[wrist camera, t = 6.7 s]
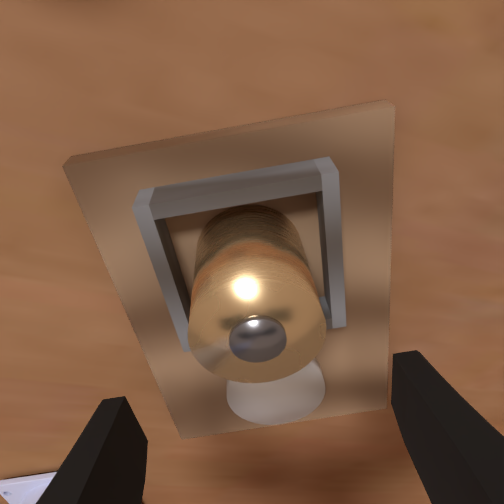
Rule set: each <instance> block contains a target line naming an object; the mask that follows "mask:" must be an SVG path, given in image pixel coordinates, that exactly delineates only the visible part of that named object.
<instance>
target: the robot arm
mask: <svg viewBox="0 0 504 504" xmlns="http://www.w3.org/2000/svg"><path fill="white" fill-rule="evenodd" d="M391 404H392V407H393V410H394V413H395V416H396V420H397V423H398V426H399V429H400V431H401V434H402V437H403V440H404V443H405V445H406V447H407V450H408V452H409V454H410V456H411V459H412V461H413V463H414V465H415V468H416V470H417V472H418V474H419V476H420V479H421V481H422V483H423V485H424V487H425V490H426V492H427V494H428V496H429V498H430V501H431V503H432V504H504V436H503V435H502V434H500V433H499V432H498V431H497V430H496V429H495V428H494V427H493V426H492V425H491V424H490V423H488V422H487V421H486V420H485V419H484V418H483V417H482V416H481V415H480V414H479V413H478V412H477V411H476V410H475V409H474V408H473V407H472V406H471V405H470V404H469V403H468V402H467V401H466V400H465V399H464V398H462V397H461V396H460V395H459V394H458V392H457V391H456V390H455V389H454V388H453V387H452V386H451V385H450V384H449V383H448V382H447V381H446V380H445V379H444V378H443V377H442V376H441V375H440V374H439V373H438V372H437V371H436V370H435V368H434V367H433V366H432V365H431V364H430V363H429V362H428V361H427V360H426V359H425V358H424V356H423V355H422V354H421V353H420V352H418V351H417V350H415V351H409V352H402V353H396V354H393V369H392V397H391ZM147 445H148V440H147V438H146V436H145V434H144V432H143V430H142V428H141V426H140V425H139V423H138V421H137V419H136V417H135V415H134V413H133V411H132V409H131V407H130V405H129V403H128V401H127V399H126V397H125V396H123V397H116V398H110V399H104V400H102V402H101V403H100V404H99V406H98V408H97V409H96V411H95V412H94V414H93V416H92V417H91V419H90V421H89V422H88V424H87V425H86V427H85V429H84V430H83V432H82V433H81V435H80V437H79V438H78V440H77V441H76V443H75V445H74V446H73V448H72V449H71V451H70V453H69V454H68V456H67V457H66V459H65V460H64V462H63V463H62V465H61V466H60V468H59V470H58V471H57V472H52V473H45V474H38V475H32V476H25V477H18V478H12V479H5V480H1V481H0V494H1V495H2V496H3V498H4V499H5V500H6V501H7V502H8V503H9V504H141V501H142V495H143V489H144V484H145V474H146V462H147Z"/></svg>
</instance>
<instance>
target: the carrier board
mask: <svg viewBox="0 0 504 504" xmlns="http://www.w3.org/2000/svg"><path fill="white" fill-rule="evenodd" d="M394 132H395V106H394V105H393V104H391V103H390V102H388V101H387V100H381V101H376V102H370V103H365V104H359V105H353V106H348V107H342V108H337V109H331V110H326V111H320V112H315V113H309V114H304V115H298V116H293V117H287V118H281V119H276V120H270V121H265V122H259V123H254V124H248V125H243V126H237V127H232V128H226V129H221V130H215V131H209V132H204V133H198V134H193V135H187V136H182V137H176V138H171V139H165V140H160V141H154V142H149V143H143V144H138V145H132V146H126V147H121V148H115V149H110V150H104V151H99V152H93V153H88V154H82V155H77V156H71V157H70V158H69V159H68V160H67V161H66V162H65V164H64V165H63V166H62V167H63V169H64V171H65V174H66V176H67V178H68V180H69V183H70V185H71V187H72V190H73V192H74V194H75V196H76V199H77V201H78V203H79V206H80V208H81V210H82V212H83V215H84V217H85V219H86V222H87V224H88V226H89V228H90V231H91V233H92V235H93V238H94V240H95V242H96V245H97V247H98V249H99V251H100V254H101V256H102V258H103V261H104V263H105V265H106V267H107V270H108V272H109V274H110V277H111V279H112V281H113V283H114V286H115V288H116V290H117V293H118V295H119V297H120V300H121V302H122V304H123V306H124V309H125V311H126V313H127V316H128V318H129V320H130V322H131V325H132V327H133V329H134V332H135V334H136V336H137V338H138V341H139V343H140V345H141V348H142V350H143V352H144V355H145V357H146V359H147V361H148V364H149V366H150V368H151V371H152V373H153V375H154V377H155V380H156V382H157V384H158V387H159V389H160V391H161V393H162V396H163V398H164V400H165V403H166V405H167V407H168V410H169V412H170V414H171V416H172V419H173V421H174V423H175V426H176V428H177V430H178V432H179V435H180V437H181V439H189V438H195V437H202V436H209V435H215V434H222V433H228V432H235V431H241V430H248V429H255V428H261V427H268V426H274V425H281V424H288V423H294V422H301V421H307V420H314V419H321V418H327V417H334V416H340V415H347V414H354V413H360V412H367V411H373V410H380V409H387V384H388V348H389V312H390V276H391V240H392V204H393V168H394ZM239 205H262V206H266V207H270V208H272V209H275V210H277V211H279V212H280V213H282V214H283V215H285V216H286V217H287V218H288V219H289V220H290V221H291V222H292V223H293V224H294V226H295V227H296V229H297V231H298V233H299V236H300V239H301V242H302V245H303V248H304V252H305V255H306V258H307V262H308V265H309V268H310V271H311V275H312V278H313V281H314V284H315V288H316V291H317V294H318V297H319V301H320V304H321V307H322V310H323V314H324V317H325V321H326V337H325V341H324V343H323V346H322V348H321V350H320V351H319V353H318V354H317V356H316V357H315V358H314V359H313V360H312V361H311V362H310V363H309V364H308V365H306V366H305V367H304V368H302V369H301V370H299V371H298V372H296V373H294V374H292V375H290V376H287V377H285V378H282V379H279V380H275V381H270V382H264V383H241V382H235V381H231V380H227V379H224V378H221V377H219V376H217V375H215V374H213V373H211V372H210V371H208V370H207V369H205V368H204V367H203V366H202V365H201V364H200V363H199V362H198V361H197V360H196V359H195V357H194V355H193V354H192V352H191V350H190V347H189V343H188V325H189V315H190V306H191V296H192V287H193V277H194V268H195V258H196V249H197V242H198V238H199V236H200V233H201V231H202V230H203V228H204V227H205V225H206V224H207V223H208V222H209V221H210V220H211V219H212V218H213V217H214V216H216V215H217V214H219V213H220V212H222V211H224V210H226V209H229V208H232V207H235V206H239Z"/></svg>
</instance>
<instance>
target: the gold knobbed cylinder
mask: <svg viewBox="0 0 504 504" xmlns="http://www.w3.org/2000/svg"><path fill="white" fill-rule="evenodd" d="M325 337H326V321H325V317H324V314H323V310H322V307H321V304H320V301H319V297H318V294H317V291H316V288H315V284H314V281H313V278H312V275H311V271H310V268H309V265H308V262H307V258H306V255H305V252H304V248H303V245H302V242H301V239H300V236H299V233H298V231H297V229H296V227H295V226H294V224H293V223H292V222H291V221H290V220H289V219H288V218H287V217H286V216H285V215H283V214H282V213H280V212H279V211H277V210H275V209H272V208H270V207H266V206H262V205H239V206H235V207H232V208H229V209H226V210H224V211H222V212H220V213H219V214H217V215H216V216H214V217H213V218H212V219H211V220H210V221H209V222H208V223H207V224H206V225H205V227H204V228H203V230H202V231H201V233H200V236H199V238H198V242H197V249H196V258H195V268H194V277H193V287H192V296H191V306H190V315H189V325H188V343H189V347H190V350H191V352H192V354H193V355H194V357H195V359H196V360H197V361H198V362H199V363H200V364H201V365H202V366H203V367H204V368H205V369H207V370H208V371H210V372H211V373H213V374H215V375H217V376H219V377H221V378H224V379H227V380H231V381H235V382H241V383H264V382H270V381H275V380H279V379H282V378H285V377H287V376H290V375H292V374H294V373H296V372H298V371H299V370H301V369H302V368H304V367H305V366H306V365H308V364H309V363H310V362H311V361H312V360H313V359H314V358H315V357H316V356H317V354H318V353H319V351H320V350H321V348H322V346H323V343H324V341H325Z"/></svg>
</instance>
